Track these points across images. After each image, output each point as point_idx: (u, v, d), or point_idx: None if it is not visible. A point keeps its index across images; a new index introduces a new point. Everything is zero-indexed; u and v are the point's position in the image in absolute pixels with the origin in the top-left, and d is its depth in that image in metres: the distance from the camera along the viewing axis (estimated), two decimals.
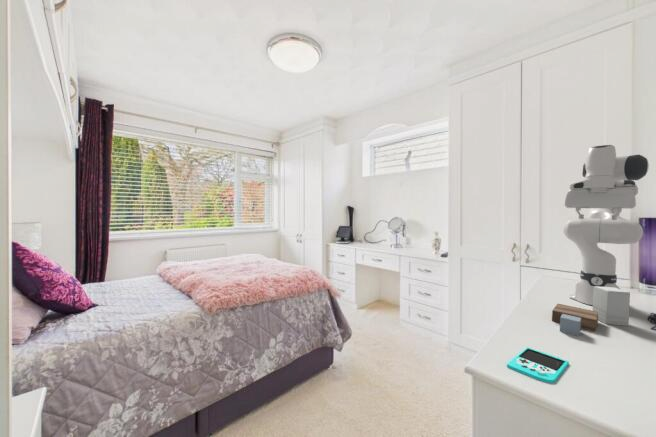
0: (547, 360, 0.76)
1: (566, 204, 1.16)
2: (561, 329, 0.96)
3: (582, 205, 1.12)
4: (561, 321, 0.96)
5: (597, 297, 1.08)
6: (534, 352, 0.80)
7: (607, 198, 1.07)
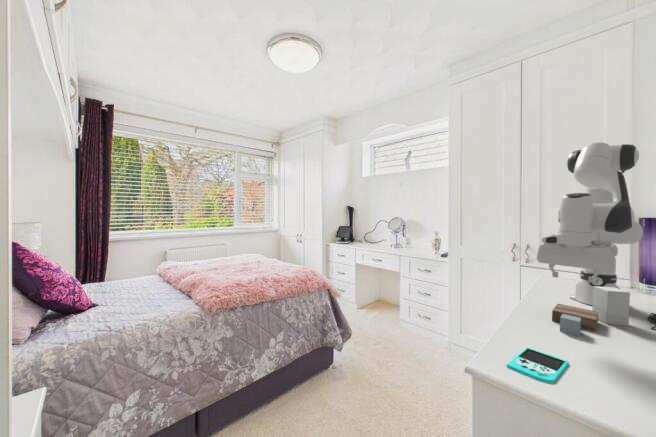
0: (547, 360, 0.76)
1: (538, 259, 1.01)
2: (561, 329, 0.96)
3: (556, 262, 0.98)
4: (561, 321, 0.96)
5: (597, 297, 1.08)
6: (534, 352, 0.80)
7: (583, 257, 0.92)
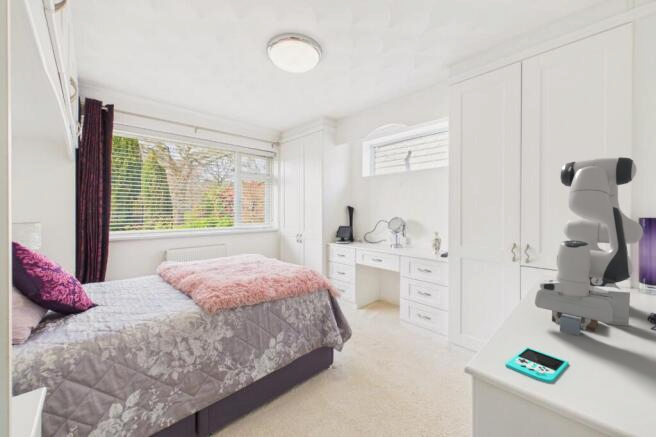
0: (547, 360, 0.76)
1: (536, 304, 1.02)
2: (561, 329, 0.96)
3: (553, 309, 0.98)
4: (561, 321, 0.96)
5: None
6: (534, 352, 0.80)
7: (581, 306, 0.93)
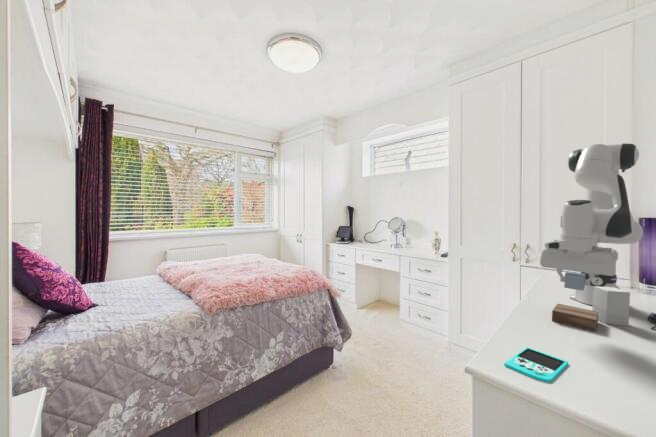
0: (546, 360, 0.76)
1: (541, 264, 1.05)
2: (566, 285, 1.00)
3: (558, 267, 1.02)
4: (566, 278, 0.99)
5: (597, 297, 1.08)
6: (534, 352, 0.80)
7: (585, 262, 0.96)
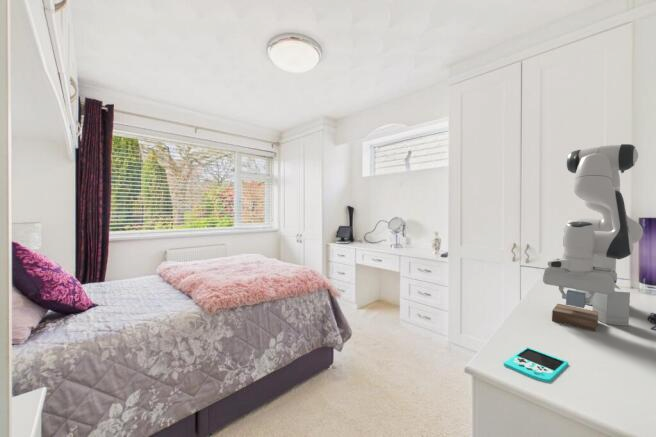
0: (546, 360, 0.76)
1: (544, 281, 1.11)
2: (567, 302, 1.05)
3: (560, 285, 1.07)
4: (567, 295, 1.05)
5: (597, 297, 1.08)
6: (534, 352, 0.80)
7: (586, 281, 1.02)
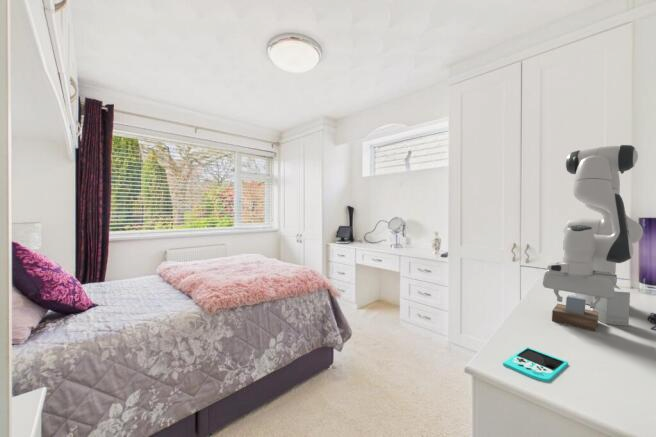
0: (546, 360, 0.76)
1: (544, 285, 1.11)
2: (567, 309, 1.05)
3: (560, 288, 1.07)
4: (567, 302, 1.05)
5: None
6: (533, 352, 0.80)
7: (585, 285, 1.02)
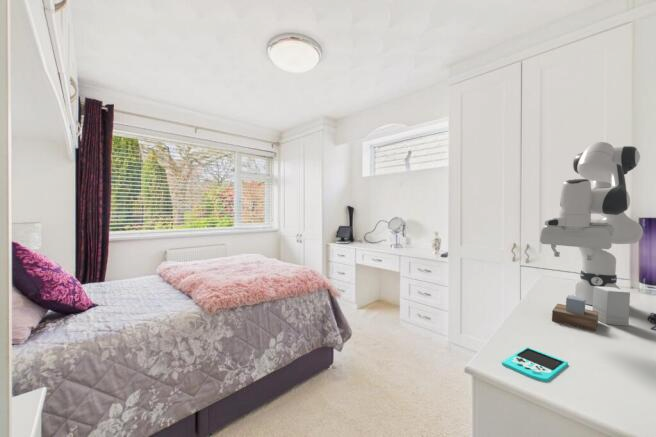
0: (545, 360, 0.76)
1: (541, 241, 1.10)
2: (567, 309, 1.05)
3: (557, 243, 1.07)
4: (567, 302, 1.05)
5: (597, 297, 1.08)
6: (533, 352, 0.81)
7: (583, 237, 1.02)
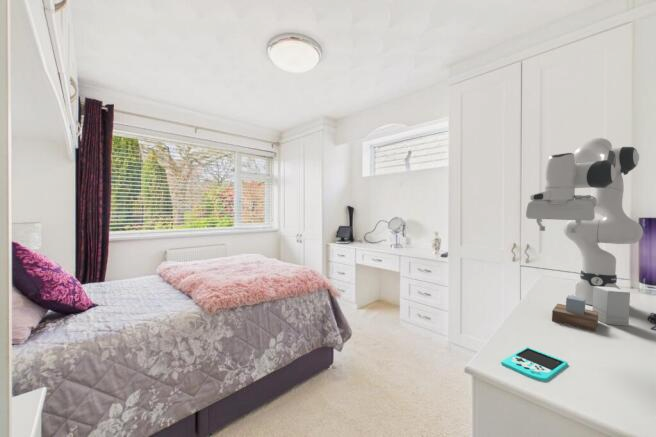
0: (545, 360, 0.76)
1: (527, 215, 1.12)
2: (567, 309, 1.05)
3: (542, 217, 1.08)
4: (567, 302, 1.05)
5: (597, 297, 1.08)
6: (533, 352, 0.81)
7: (567, 210, 1.03)
